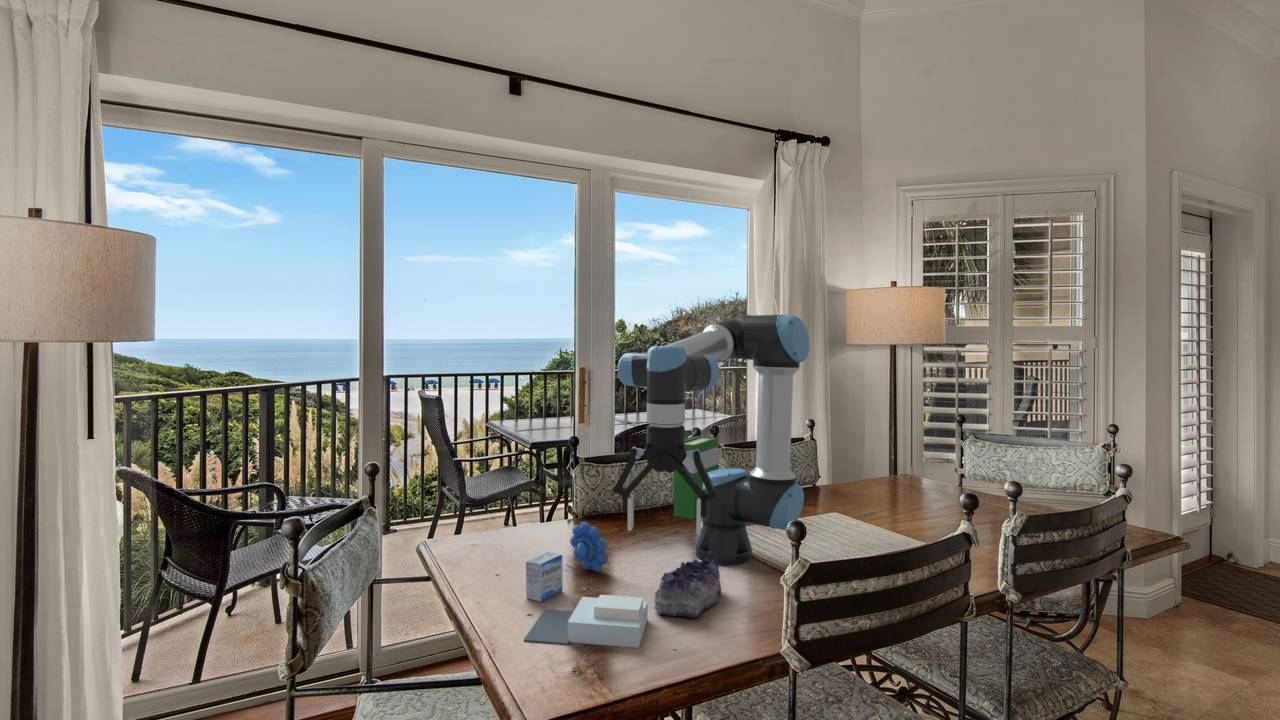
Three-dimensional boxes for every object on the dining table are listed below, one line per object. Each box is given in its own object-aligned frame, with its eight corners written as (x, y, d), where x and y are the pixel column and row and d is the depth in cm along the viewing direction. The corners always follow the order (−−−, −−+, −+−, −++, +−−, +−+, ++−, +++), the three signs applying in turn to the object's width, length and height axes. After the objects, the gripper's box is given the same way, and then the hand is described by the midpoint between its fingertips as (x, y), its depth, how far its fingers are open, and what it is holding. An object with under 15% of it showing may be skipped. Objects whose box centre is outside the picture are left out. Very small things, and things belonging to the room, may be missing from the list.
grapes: (559, 569, 163) (559, 522, 163) (576, 561, 169) (576, 516, 168) (596, 579, 157) (596, 531, 156) (612, 571, 162) (613, 524, 162)
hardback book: (697, 503, 226) (698, 435, 225) (717, 507, 222) (718, 437, 221) (673, 516, 211) (674, 443, 210) (693, 519, 207) (694, 445, 206)
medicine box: (540, 603, 143) (540, 564, 143) (525, 598, 146) (525, 560, 145) (563, 591, 150) (563, 554, 150) (548, 586, 152) (548, 550, 152)
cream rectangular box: (643, 607, 132) (643, 597, 132) (638, 620, 126) (638, 610, 126) (600, 604, 134) (600, 594, 133) (593, 616, 128) (593, 606, 128)
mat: (585, 613, 138) (585, 612, 138) (568, 644, 124) (568, 643, 124) (544, 610, 140) (544, 608, 140) (523, 641, 126) (523, 639, 126)
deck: (647, 620, 135) (647, 601, 135) (638, 647, 123) (639, 627, 123) (582, 615, 137) (582, 596, 137) (567, 642, 126) (567, 622, 125)
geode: (686, 583, 156) (692, 543, 155) (730, 600, 150) (736, 558, 149) (643, 611, 138) (650, 566, 138) (691, 631, 132) (698, 584, 132)
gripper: (729, 423, 129) (728, 528, 130) (607, 419, 133) (606, 521, 134) (729, 429, 121) (727, 540, 122) (599, 424, 125) (598, 532, 126)
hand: (664, 531), depth 128 cm, fingers open, 13 cm apart
